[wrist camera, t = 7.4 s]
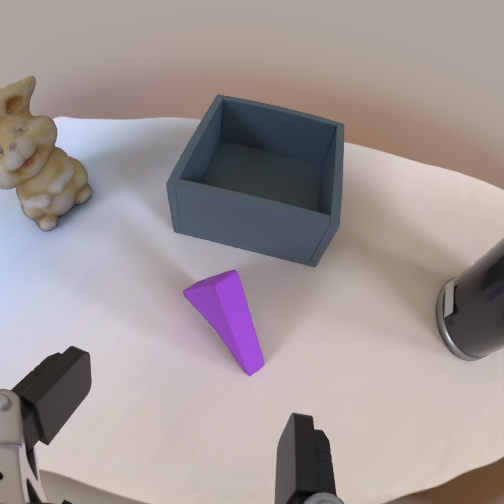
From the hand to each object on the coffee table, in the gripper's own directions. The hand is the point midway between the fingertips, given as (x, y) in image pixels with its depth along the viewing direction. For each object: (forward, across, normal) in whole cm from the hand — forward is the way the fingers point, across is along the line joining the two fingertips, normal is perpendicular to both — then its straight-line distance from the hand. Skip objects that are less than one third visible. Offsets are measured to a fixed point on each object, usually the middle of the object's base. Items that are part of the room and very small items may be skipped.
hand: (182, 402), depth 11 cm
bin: (+24, 0, -6) cm, 25 cm away
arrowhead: (+14, 0, +4) cm, 15 cm away
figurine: (+19, +21, 0) cm, 28 cm away
